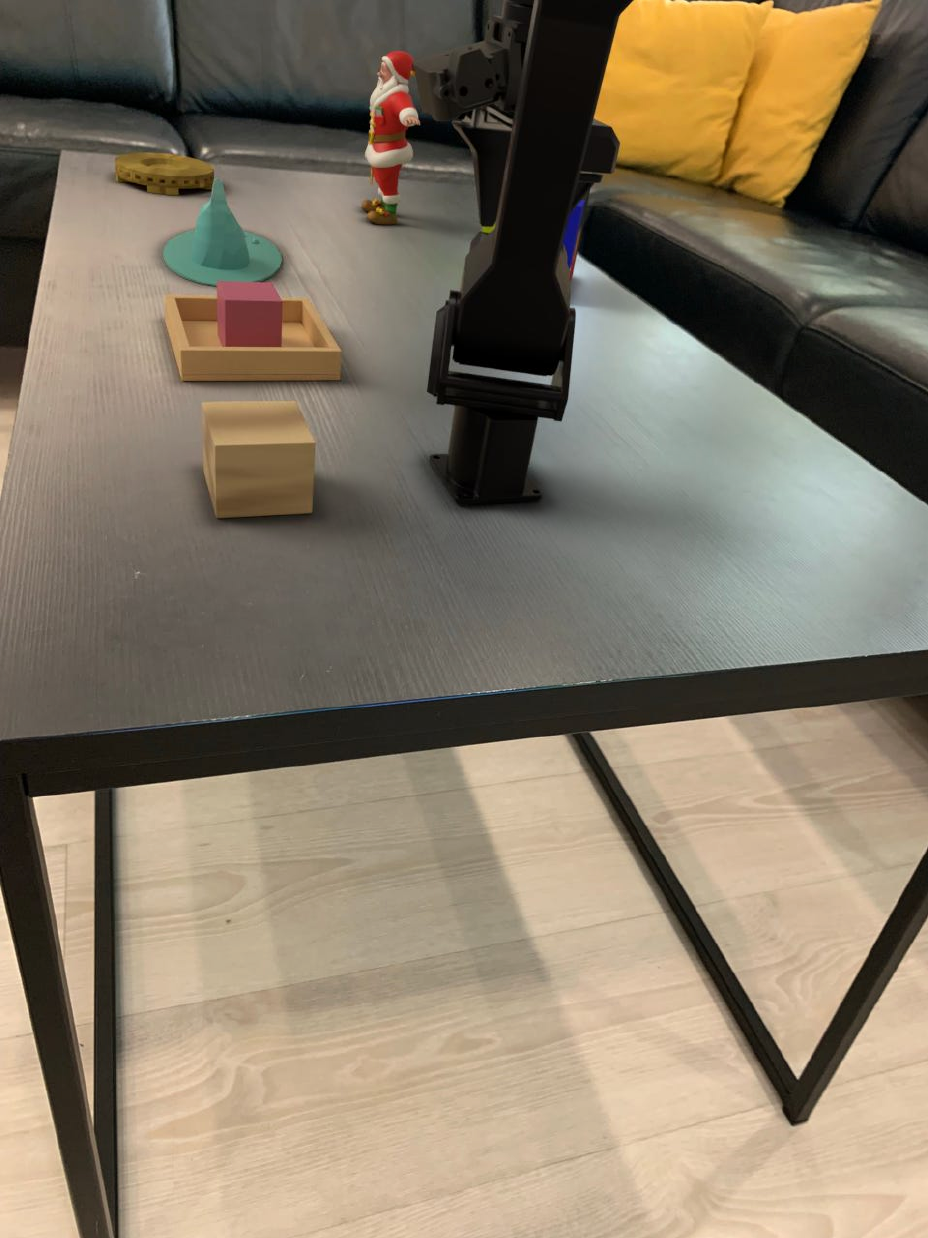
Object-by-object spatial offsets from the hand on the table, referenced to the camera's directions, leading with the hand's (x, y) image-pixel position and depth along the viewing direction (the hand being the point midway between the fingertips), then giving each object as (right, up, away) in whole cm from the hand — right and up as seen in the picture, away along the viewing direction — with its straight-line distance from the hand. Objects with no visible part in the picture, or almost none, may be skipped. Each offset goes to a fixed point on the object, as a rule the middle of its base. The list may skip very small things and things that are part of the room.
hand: (507, 243), depth 73 cm
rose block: (-22, -6, +6) cm, 23 cm away
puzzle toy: (+4, +9, +34) cm, 35 cm away
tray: (-22, -7, +6) cm, 23 cm away
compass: (-42, +26, +47) cm, 68 cm away
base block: (-17, -21, -12) cm, 30 cm away
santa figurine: (-14, +22, +48) cm, 55 cm away
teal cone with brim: (-29, +9, +26) cm, 40 cm away
